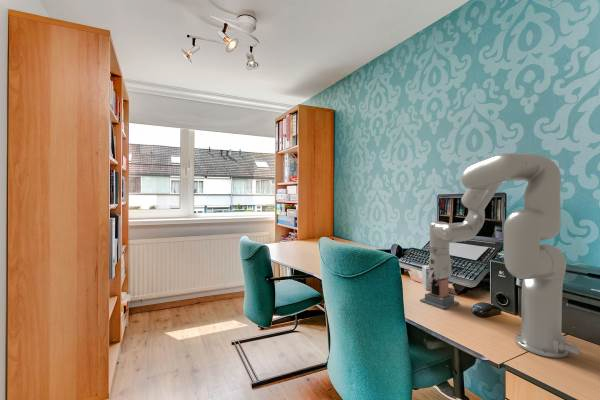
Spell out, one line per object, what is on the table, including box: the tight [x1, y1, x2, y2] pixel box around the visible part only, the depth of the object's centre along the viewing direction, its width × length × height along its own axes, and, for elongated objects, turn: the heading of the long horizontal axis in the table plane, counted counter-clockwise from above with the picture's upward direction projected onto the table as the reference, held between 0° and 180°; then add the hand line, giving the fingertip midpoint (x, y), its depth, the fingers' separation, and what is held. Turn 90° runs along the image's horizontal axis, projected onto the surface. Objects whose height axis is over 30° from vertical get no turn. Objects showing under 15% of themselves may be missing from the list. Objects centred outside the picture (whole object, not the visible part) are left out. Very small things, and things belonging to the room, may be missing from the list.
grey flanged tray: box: [419, 292, 460, 311], centre depth 127 cm, size 11×11×3 cm
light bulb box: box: [421, 264, 430, 291], centre depth 145 cm, size 11×7×11 cm, turn 84°
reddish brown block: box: [429, 278, 449, 298], centre depth 126 cm, size 5×5×7 cm
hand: (439, 292), depth 126 cm, fingers closed on reddish brown block, 4 cm apart
